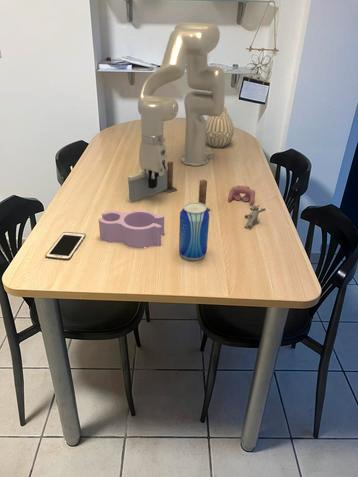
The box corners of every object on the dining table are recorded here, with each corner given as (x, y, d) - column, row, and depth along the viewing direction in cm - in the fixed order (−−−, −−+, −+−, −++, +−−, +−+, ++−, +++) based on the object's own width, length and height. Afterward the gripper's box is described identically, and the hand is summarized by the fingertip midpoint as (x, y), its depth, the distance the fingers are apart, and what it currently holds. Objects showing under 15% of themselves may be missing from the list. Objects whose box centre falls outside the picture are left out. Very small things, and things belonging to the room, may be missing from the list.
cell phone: (86, 236, 128) (86, 233, 127) (69, 261, 115) (69, 259, 115) (63, 233, 128) (63, 231, 128) (44, 259, 116) (43, 256, 116)
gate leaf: (164, 187, 157) (164, 165, 153) (167, 189, 156) (167, 166, 151) (128, 199, 148) (127, 176, 143) (131, 201, 146) (130, 177, 141)
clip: (96, 245, 123) (94, 225, 119) (107, 225, 133) (105, 207, 130) (159, 250, 121) (159, 231, 117) (165, 230, 132) (165, 211, 128)
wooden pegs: (161, 189, 159) (161, 162, 153) (170, 186, 161) (171, 159, 155) (200, 214, 141) (202, 184, 135) (210, 211, 144) (212, 182, 138)
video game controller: (253, 206, 152) (257, 188, 151) (252, 205, 147) (256, 187, 146) (228, 202, 154) (231, 184, 153) (226, 201, 150) (230, 183, 149)
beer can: (177, 246, 123) (178, 200, 114) (204, 246, 124) (207, 200, 115) (180, 262, 116) (181, 214, 107) (208, 261, 116) (212, 213, 108)
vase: (237, 144, 210) (241, 105, 199) (223, 152, 198) (227, 111, 188) (211, 138, 217) (213, 100, 207) (196, 146, 206) (198, 106, 195)
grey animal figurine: (232, 224, 136) (242, 206, 141) (243, 235, 138) (252, 217, 143) (252, 216, 128) (262, 198, 133) (264, 228, 130) (273, 210, 135)
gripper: (176, 140, 136) (174, 189, 145) (143, 132, 143) (144, 179, 153) (162, 145, 131) (161, 196, 140) (129, 136, 138) (131, 185, 148)
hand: (152, 187), depth 146 cm, fingers closed
